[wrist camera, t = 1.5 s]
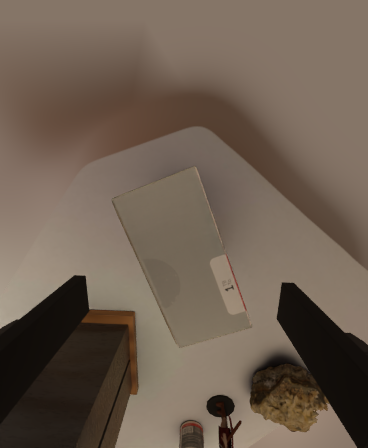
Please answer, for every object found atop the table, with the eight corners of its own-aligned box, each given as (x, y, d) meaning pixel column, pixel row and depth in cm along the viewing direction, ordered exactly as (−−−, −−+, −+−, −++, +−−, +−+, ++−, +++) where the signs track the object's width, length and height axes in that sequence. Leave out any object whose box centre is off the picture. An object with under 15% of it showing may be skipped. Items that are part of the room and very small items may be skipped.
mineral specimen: (272, 409, 45) (294, 472, 35) (233, 379, 43) (246, 436, 34) (321, 375, 42) (360, 433, 33) (282, 341, 41) (310, 392, 31)
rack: (52, 307, 41) (-93, 441, 20) (134, 311, 40) (73, 452, 19) (64, 383, 46) (-43, 555, 25) (138, 387, 45) (92, 567, 24)
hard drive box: (220, 251, 37) (254, 331, 17) (184, 263, 37) (175, 353, 18) (193, 173, 34) (196, 164, 14) (153, 189, 34) (105, 200, 15)
